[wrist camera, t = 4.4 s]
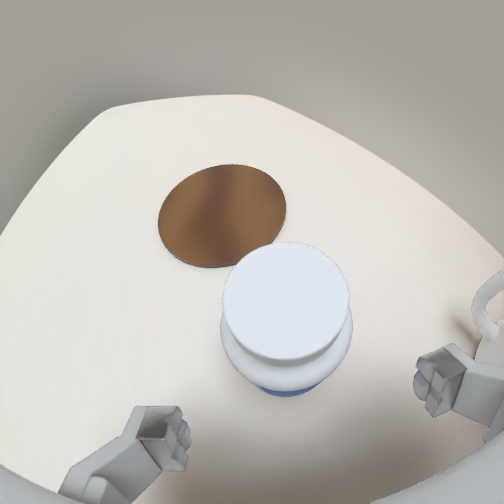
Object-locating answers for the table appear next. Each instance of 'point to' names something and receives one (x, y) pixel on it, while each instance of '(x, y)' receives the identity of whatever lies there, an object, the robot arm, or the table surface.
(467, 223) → the table surface
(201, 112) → the table surface
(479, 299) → the cup
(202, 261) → the coaster
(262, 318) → the pill bottle
